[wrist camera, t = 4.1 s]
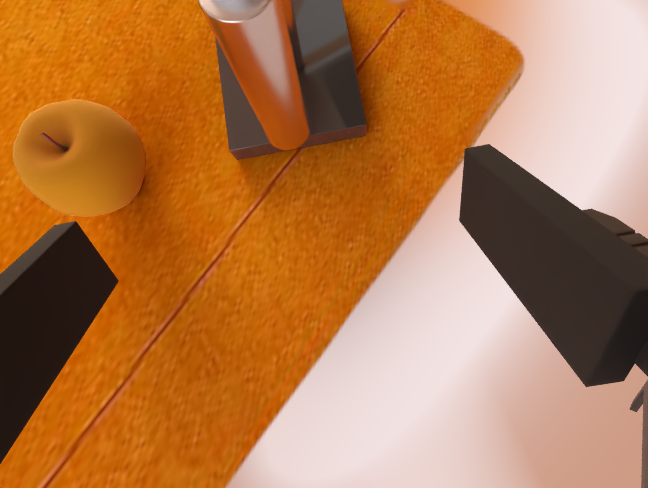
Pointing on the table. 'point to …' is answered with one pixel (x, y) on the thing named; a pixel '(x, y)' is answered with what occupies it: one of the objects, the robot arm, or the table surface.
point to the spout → (264, 62)
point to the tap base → (304, 84)
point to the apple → (80, 157)
